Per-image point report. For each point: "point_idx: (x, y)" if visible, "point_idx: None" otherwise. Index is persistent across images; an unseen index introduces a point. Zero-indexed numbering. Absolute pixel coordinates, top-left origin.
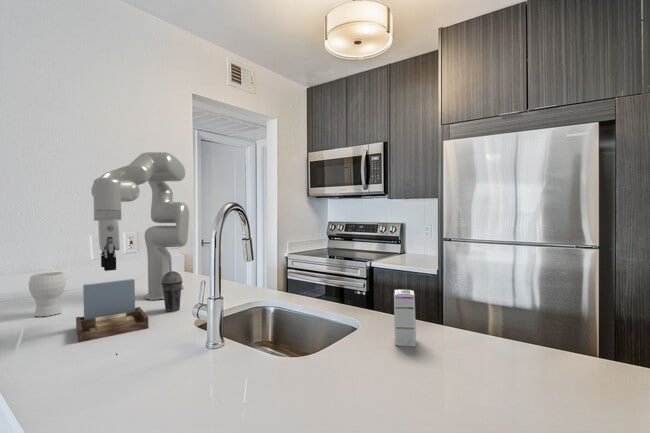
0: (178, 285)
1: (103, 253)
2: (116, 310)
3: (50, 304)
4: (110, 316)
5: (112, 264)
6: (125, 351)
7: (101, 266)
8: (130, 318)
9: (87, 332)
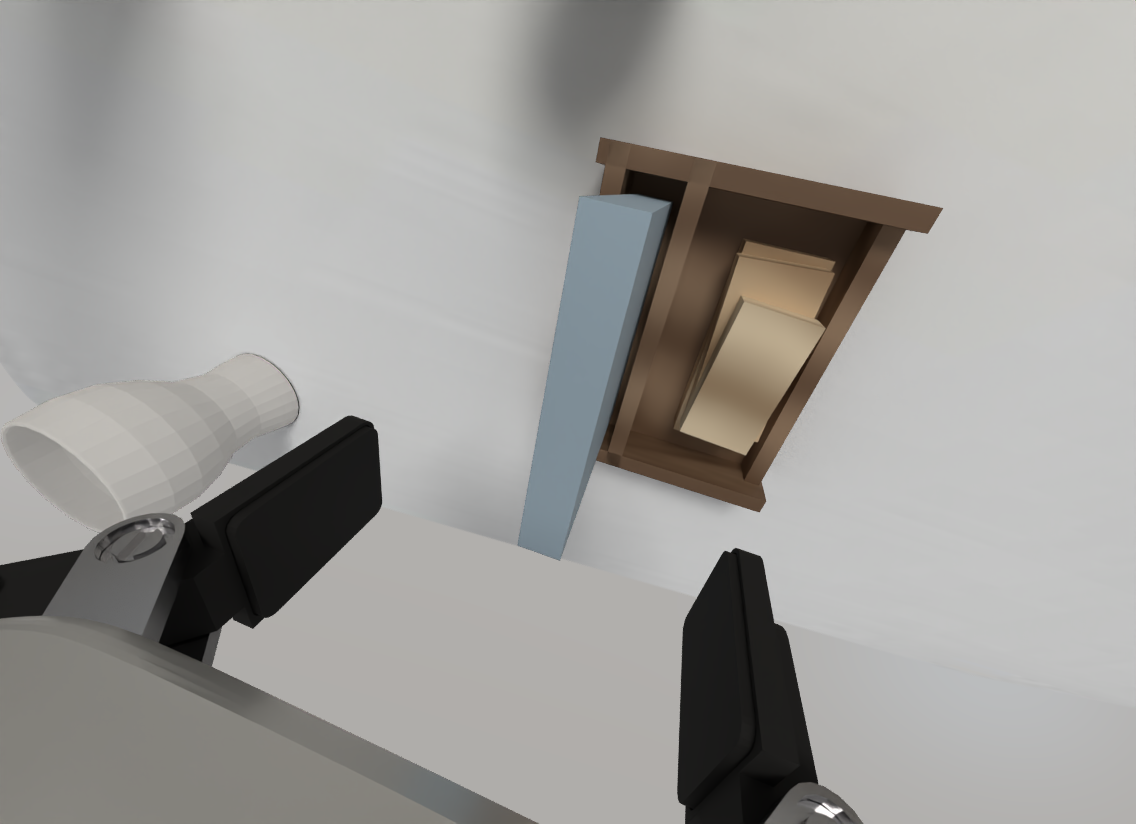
0: None
1: (209, 635)
2: (637, 316)
3: (252, 414)
4: (733, 384)
5: (784, 670)
6: (1048, 409)
7: (372, 512)
8: (792, 286)
9: (751, 466)
